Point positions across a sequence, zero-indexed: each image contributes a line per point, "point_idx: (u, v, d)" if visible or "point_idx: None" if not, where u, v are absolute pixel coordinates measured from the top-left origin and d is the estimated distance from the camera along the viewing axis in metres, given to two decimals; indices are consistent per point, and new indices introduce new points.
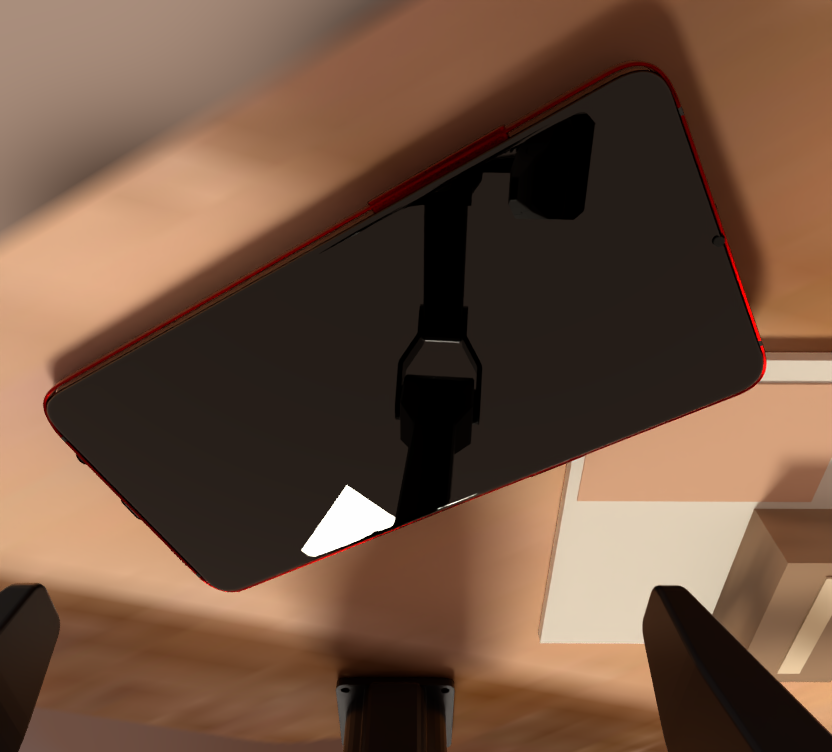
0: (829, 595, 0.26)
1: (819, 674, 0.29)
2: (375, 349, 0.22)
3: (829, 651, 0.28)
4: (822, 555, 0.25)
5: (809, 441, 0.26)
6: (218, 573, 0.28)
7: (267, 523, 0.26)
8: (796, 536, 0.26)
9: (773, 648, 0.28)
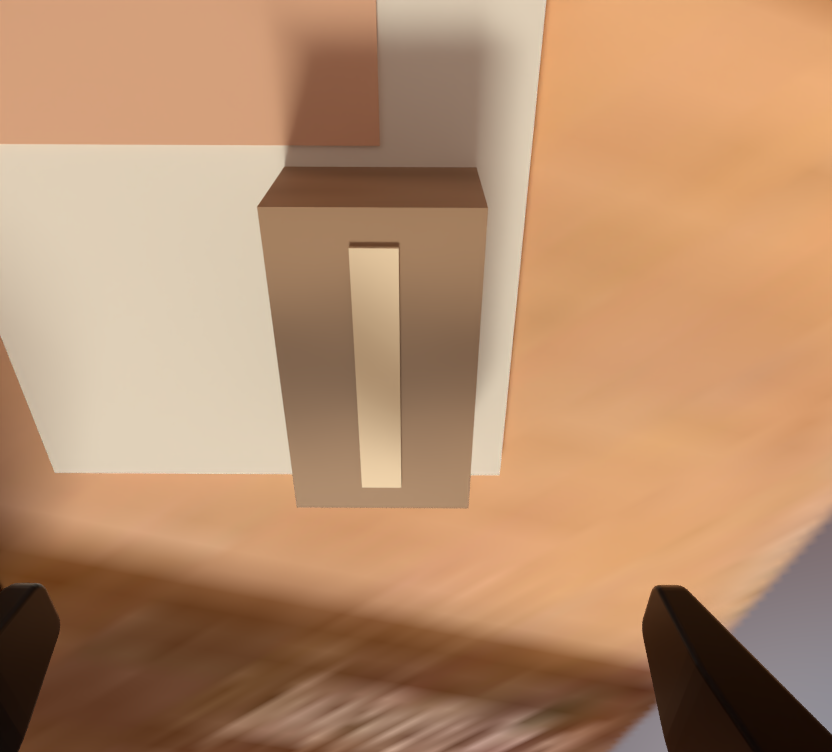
0: (372, 292, 0.13)
1: (441, 491, 0.16)
2: None
3: (437, 438, 0.15)
4: (340, 200, 0.13)
5: None
6: None
7: None
8: (319, 186, 0.14)
9: (331, 431, 0.15)
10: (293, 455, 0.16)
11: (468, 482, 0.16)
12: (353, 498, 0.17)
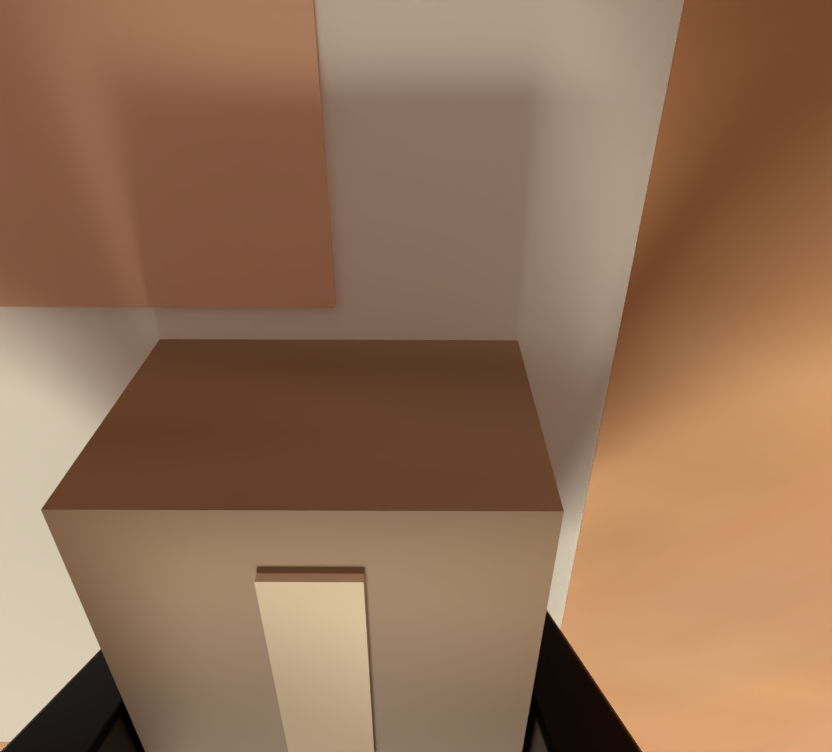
0: (312, 646, 0.06)
1: None
2: None
3: None
4: (235, 476, 0.06)
5: None
6: None
7: None
8: (207, 415, 0.07)
9: None
10: None
11: None
12: None
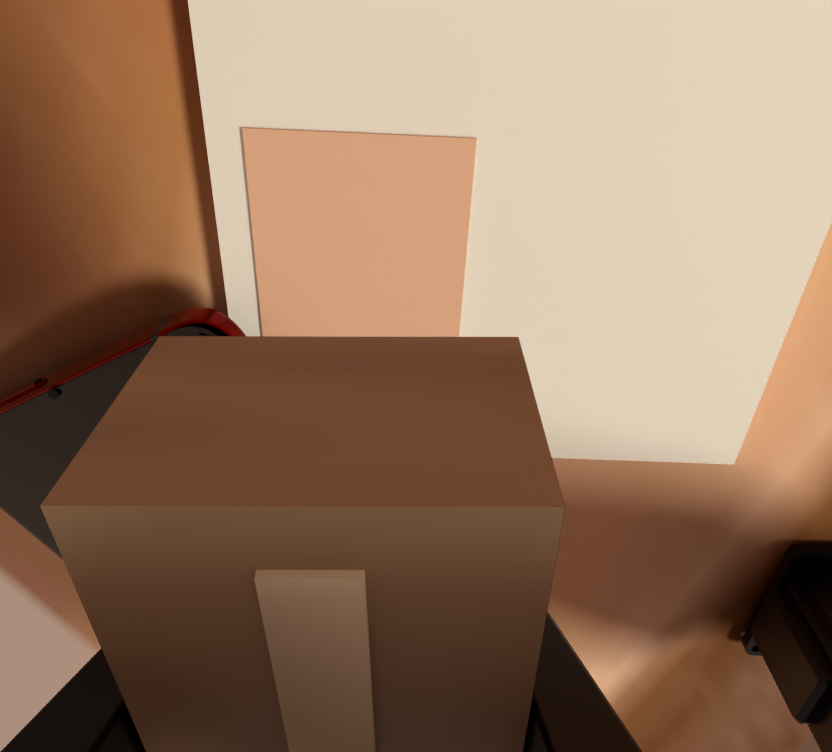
0: (312, 643, 0.06)
1: None
2: None
3: None
4: (235, 473, 0.06)
5: (352, 174, 0.17)
6: None
7: None
8: (207, 411, 0.07)
9: None
10: None
11: None
12: None
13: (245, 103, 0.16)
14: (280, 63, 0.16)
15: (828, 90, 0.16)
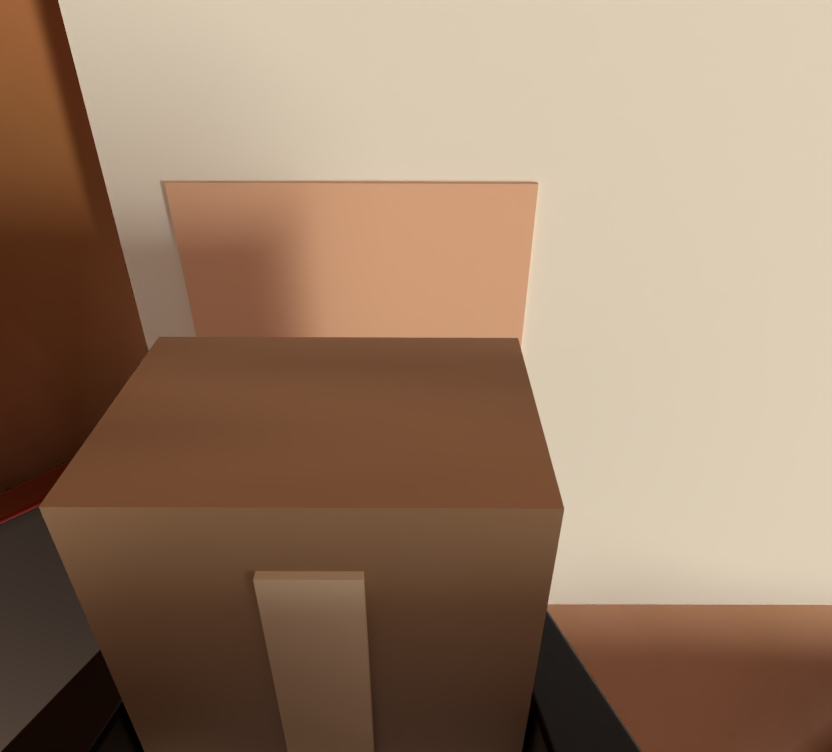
0: (311, 646, 0.06)
1: None
2: None
3: None
4: (235, 474, 0.06)
5: (342, 244, 0.11)
6: None
7: None
8: (206, 412, 0.07)
9: None
10: None
11: None
12: None
13: (166, 143, 0.10)
14: (217, 78, 0.09)
15: None
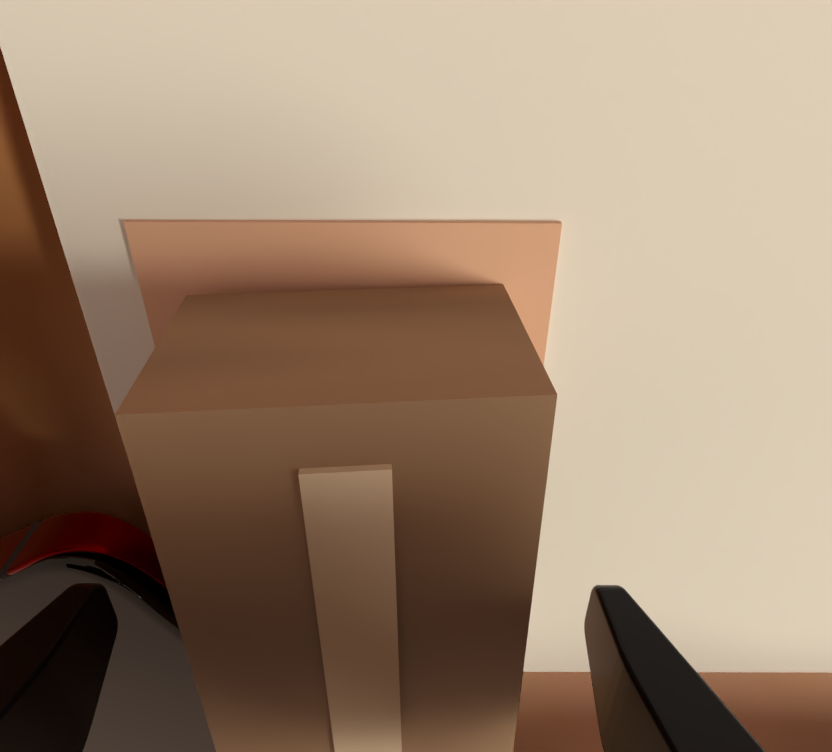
0: (346, 538, 0.07)
1: None
2: None
3: (460, 720, 0.09)
4: (278, 385, 0.07)
5: None
6: None
7: None
8: (242, 345, 0.08)
9: (286, 724, 0.09)
10: None
11: None
12: None
13: (125, 177, 0.08)
14: (182, 101, 0.08)
15: None
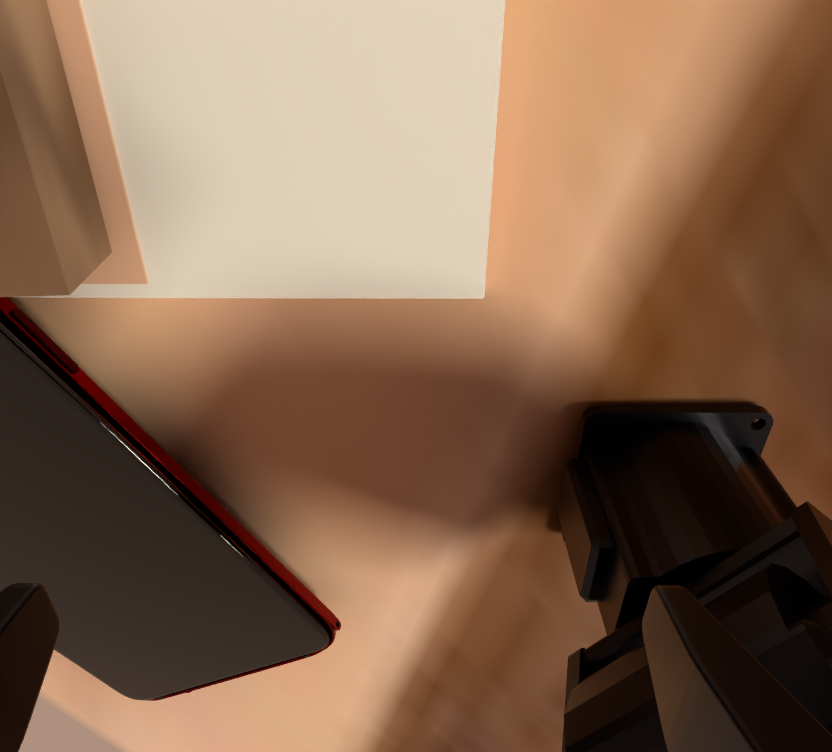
0: None
1: (31, 272, 0.15)
2: None
3: None
4: None
5: None
6: (301, 643, 0.26)
7: (217, 603, 0.25)
8: None
9: None
10: None
11: (56, 259, 0.15)
12: None
13: None
14: None
15: None
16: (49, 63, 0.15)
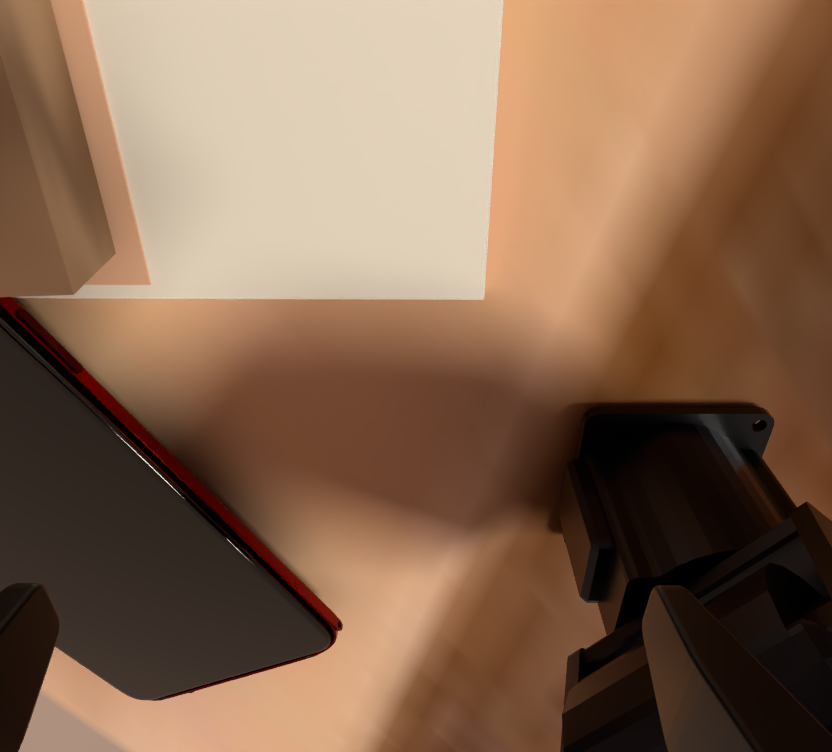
0: None
1: (36, 272, 0.15)
2: None
3: (5, 200, 0.14)
4: None
5: None
6: (302, 643, 0.26)
7: (219, 603, 0.25)
8: None
9: None
10: None
11: (60, 259, 0.15)
12: None
13: None
14: None
15: None
16: (54, 66, 0.15)
